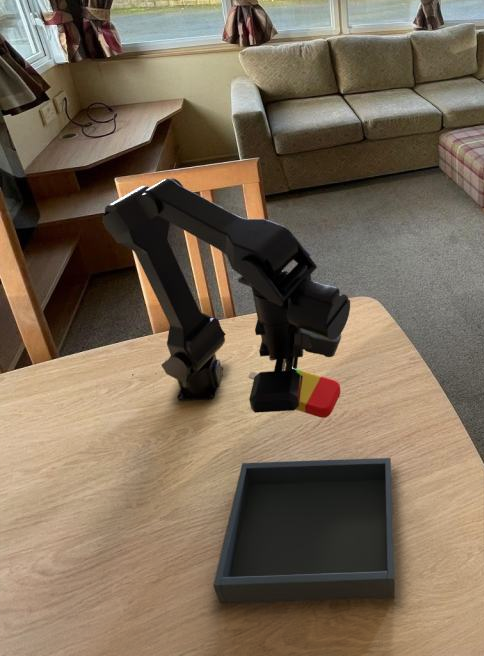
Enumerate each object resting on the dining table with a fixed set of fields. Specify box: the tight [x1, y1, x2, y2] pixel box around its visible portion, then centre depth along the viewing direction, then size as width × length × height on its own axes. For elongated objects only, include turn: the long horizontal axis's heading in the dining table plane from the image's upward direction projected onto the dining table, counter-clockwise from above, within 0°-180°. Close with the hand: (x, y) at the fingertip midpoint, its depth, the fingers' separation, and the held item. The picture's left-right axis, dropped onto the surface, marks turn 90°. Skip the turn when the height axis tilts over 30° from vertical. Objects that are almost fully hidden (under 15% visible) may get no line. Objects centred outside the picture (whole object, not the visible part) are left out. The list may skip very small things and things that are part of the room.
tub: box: [213, 457, 396, 605], centre depth 65 cm, size 22×14×5 cm, turn 91°
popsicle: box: [248, 368, 341, 419], centre depth 74 cm, size 6×15×2 cm, turn 71°
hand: (290, 386), depth 74 cm, fingers closed on popsicle, 6 cm apart
